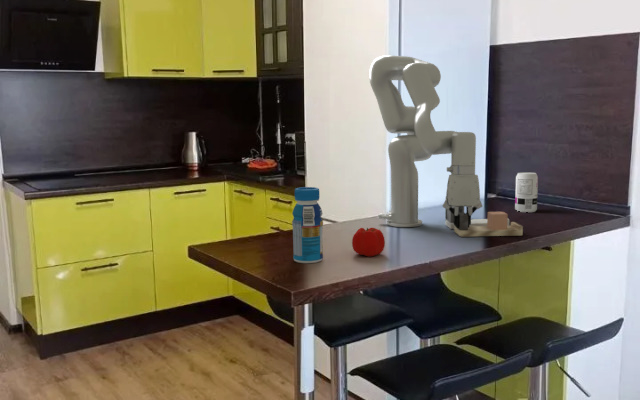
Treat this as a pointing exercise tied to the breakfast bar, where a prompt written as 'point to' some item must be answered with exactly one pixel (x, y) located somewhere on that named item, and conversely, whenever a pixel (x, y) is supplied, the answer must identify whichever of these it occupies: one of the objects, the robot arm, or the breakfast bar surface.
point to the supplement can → (526, 192)
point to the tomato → (368, 242)
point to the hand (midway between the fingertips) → (462, 226)
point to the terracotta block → (497, 220)
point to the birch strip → (485, 229)
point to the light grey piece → (474, 222)
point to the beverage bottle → (307, 226)
